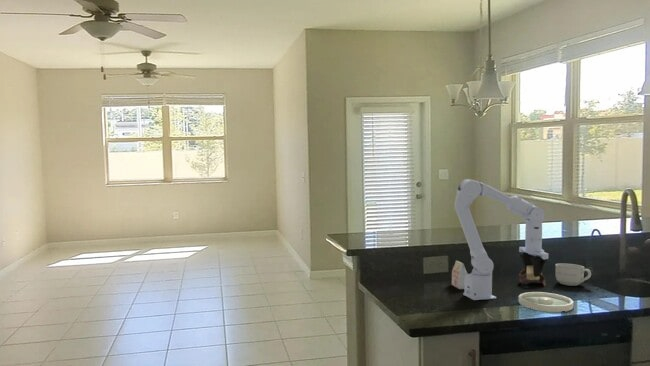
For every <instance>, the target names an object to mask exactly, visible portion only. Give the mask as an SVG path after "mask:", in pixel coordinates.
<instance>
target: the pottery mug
mask: <svg viewBox="0 0 650 366" xmlns="http://www.w3.org/2000/svg"><path fill="white" fill-rule="evenodd" d="M543 274H544V273H543V272H541V275H540V276H539V280H535V281H539V283H540V284H542V285H543V287H545V286H546V285H547V284H546V279H545V276H544V275H543ZM518 276H519V280H518V281H519V282H520V284H522V283H523V282H527V281H531V282H532V281H533V280H529V279H527V274H526V272H525V268H523V269H522V270H521V271H519V274H518Z"/></svg>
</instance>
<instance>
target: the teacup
mask: <svg viewBox="0 0 650 366" xmlns="http://www.w3.org/2000/svg"><path fill="white" fill-rule="evenodd" d="M585 272H587V276H585V277H584V274H585ZM554 275H555V279H556V281H557V282H559V284H560V285H564V286H575V287H576V286H577V287H578V286H579V285H580V284H582V283H584V282H585V281H586V280H587V281H588V280H589V279H590V278H591V276H592V272H591V270H590V269H589V268H585V266H583V265H580V264H574V263H564V262H563V263H555V274H554Z"/></svg>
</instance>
